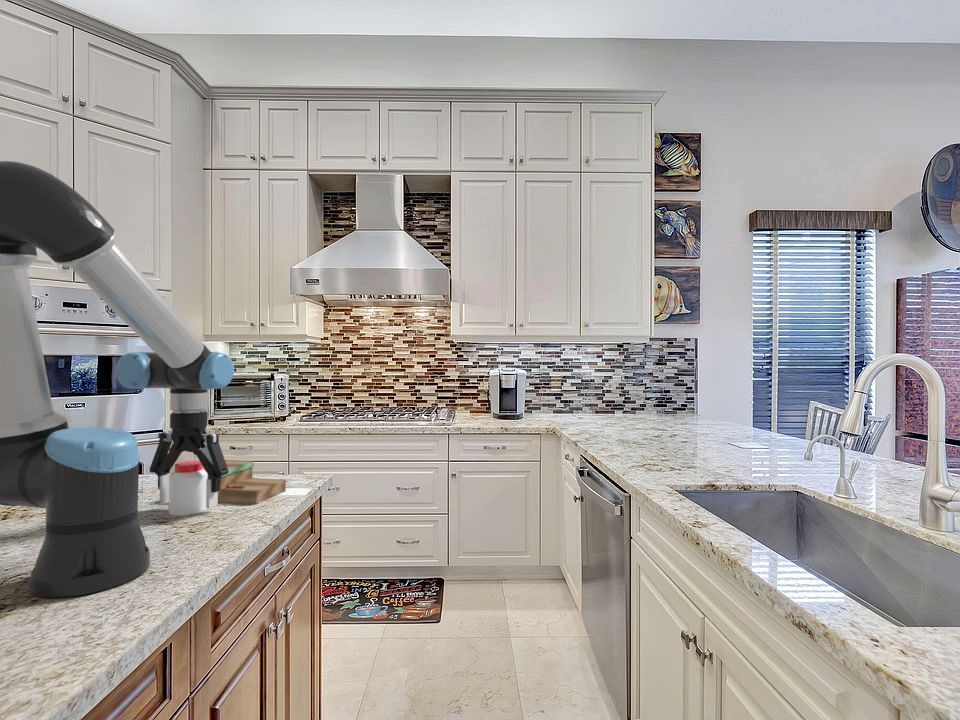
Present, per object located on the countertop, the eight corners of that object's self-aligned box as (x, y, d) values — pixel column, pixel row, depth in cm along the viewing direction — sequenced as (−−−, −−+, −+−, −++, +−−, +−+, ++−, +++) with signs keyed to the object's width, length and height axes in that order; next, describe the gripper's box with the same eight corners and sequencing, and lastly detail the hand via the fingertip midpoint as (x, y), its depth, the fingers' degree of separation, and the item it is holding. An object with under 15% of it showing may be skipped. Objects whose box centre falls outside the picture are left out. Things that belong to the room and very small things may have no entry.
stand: (255, 504, 119) (256, 473, 119) (184, 499, 123) (185, 469, 123) (285, 491, 131) (285, 462, 131) (220, 486, 135) (220, 459, 135)
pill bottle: (214, 506, 117) (215, 460, 117) (192, 516, 109) (193, 467, 109) (184, 505, 118) (184, 459, 118) (160, 515, 110) (160, 466, 110)
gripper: (245, 410, 115) (245, 503, 115) (158, 408, 120) (158, 497, 120) (223, 414, 108) (222, 512, 108) (131, 411, 112) (130, 505, 112)
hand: (188, 504), depth 114 cm, fingers open, 12 cm apart
